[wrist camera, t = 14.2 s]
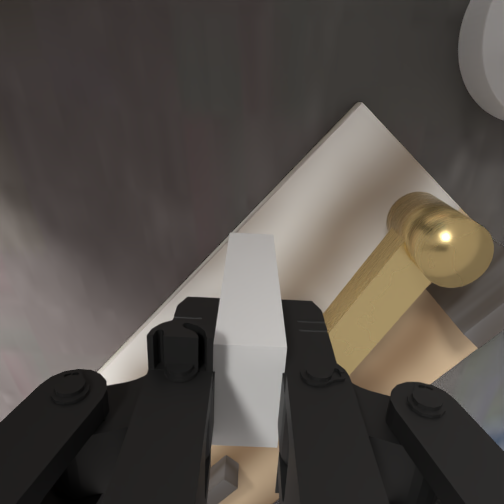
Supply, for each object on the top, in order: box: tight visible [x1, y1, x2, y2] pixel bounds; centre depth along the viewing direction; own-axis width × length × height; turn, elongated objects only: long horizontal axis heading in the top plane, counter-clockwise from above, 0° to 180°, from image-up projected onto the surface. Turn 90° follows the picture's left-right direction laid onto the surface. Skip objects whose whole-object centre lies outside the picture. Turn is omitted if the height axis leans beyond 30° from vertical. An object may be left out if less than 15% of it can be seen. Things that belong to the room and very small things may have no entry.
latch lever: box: [323, 192, 494, 375], centre depth 22 cm, size 15×4×5 cm, turn 147°
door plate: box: [97, 102, 504, 504], centre depth 25 cm, size 16×26×6 cm, turn 137°
